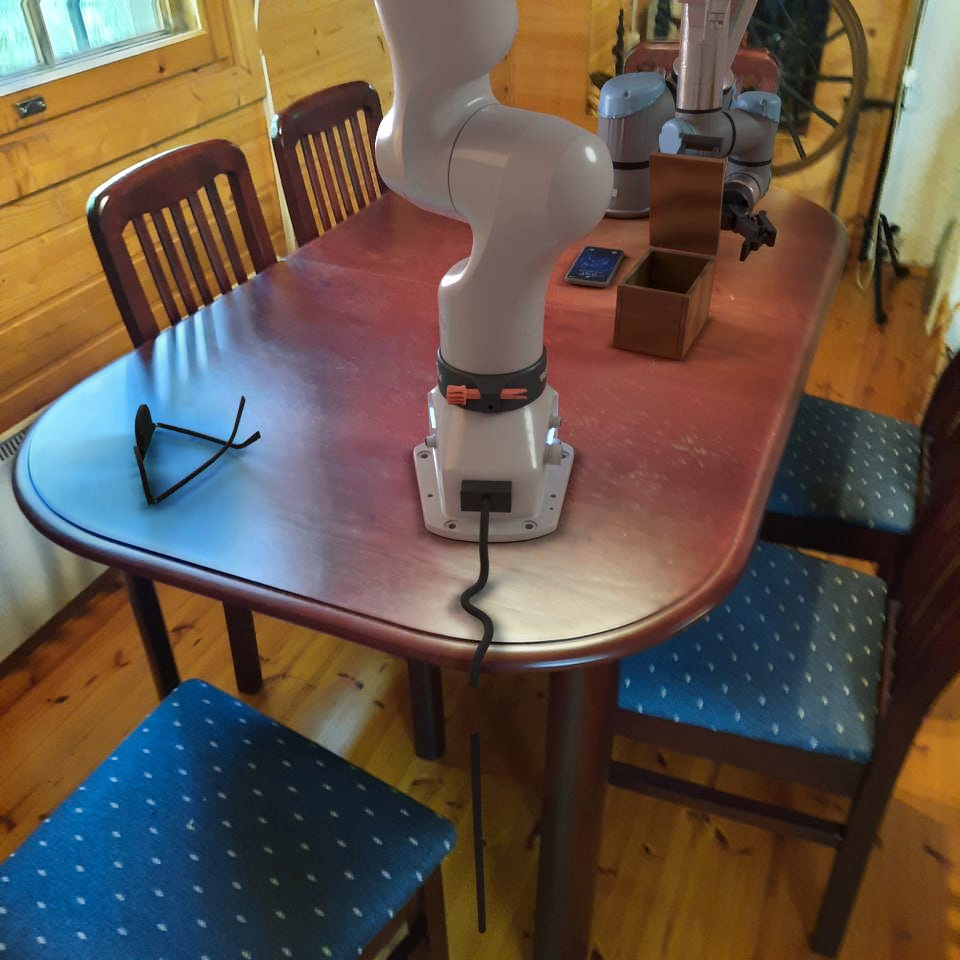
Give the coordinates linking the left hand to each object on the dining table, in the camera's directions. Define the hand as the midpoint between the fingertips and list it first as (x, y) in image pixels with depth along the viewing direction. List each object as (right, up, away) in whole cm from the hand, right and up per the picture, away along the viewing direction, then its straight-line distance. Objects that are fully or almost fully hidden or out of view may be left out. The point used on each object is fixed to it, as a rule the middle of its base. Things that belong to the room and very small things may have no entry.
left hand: (706, 35), depth 106 cm
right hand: (+6, -19, +28) cm, 34 cm away
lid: (0, -18, +12) cm, 21 cm away
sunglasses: (-61, -53, -4) cm, 81 cm away
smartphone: (-9, -20, +38) cm, 44 cm away
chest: (-2, -34, +19) cm, 39 cm away
